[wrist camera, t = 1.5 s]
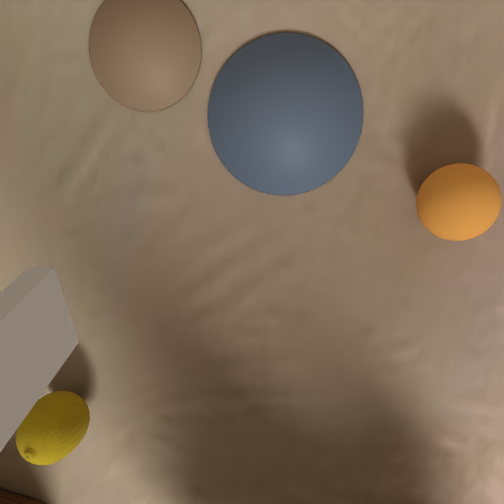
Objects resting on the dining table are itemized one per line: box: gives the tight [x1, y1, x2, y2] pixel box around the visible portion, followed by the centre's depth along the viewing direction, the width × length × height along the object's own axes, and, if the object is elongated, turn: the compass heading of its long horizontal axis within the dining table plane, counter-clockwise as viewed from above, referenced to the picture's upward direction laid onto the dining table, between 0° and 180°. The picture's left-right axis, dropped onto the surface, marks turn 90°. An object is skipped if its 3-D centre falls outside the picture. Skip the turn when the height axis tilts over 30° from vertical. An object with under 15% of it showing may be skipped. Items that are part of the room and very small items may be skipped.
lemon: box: [16, 391, 90, 465], centre depth 40 cm, size 6×6×8 cm
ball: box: [416, 163, 501, 241], centre depth 31 cm, size 6×6×6 cm
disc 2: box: [208, 33, 363, 195], centre depth 34 cm, size 12×12×1 cm
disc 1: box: [89, 0, 202, 111], centre depth 34 cm, size 9×9×1 cm
